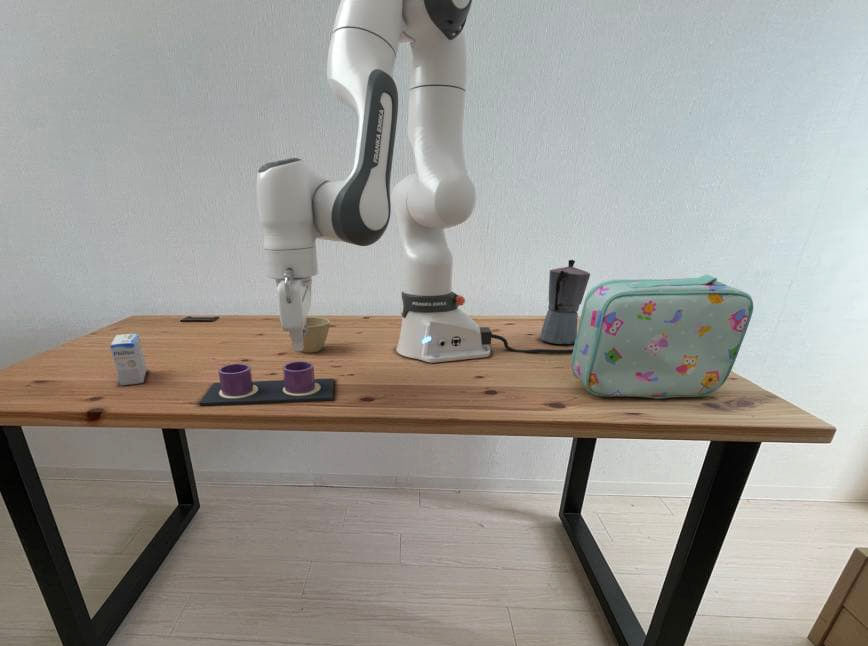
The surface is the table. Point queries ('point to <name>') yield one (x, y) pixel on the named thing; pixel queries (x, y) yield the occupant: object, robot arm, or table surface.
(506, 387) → the table surface
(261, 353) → the table surface
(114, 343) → the medicine box
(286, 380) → the purple cup
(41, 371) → the table surface
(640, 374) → the lunch box
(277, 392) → the mat
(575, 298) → the moka pot
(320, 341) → the flower pot
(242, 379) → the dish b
